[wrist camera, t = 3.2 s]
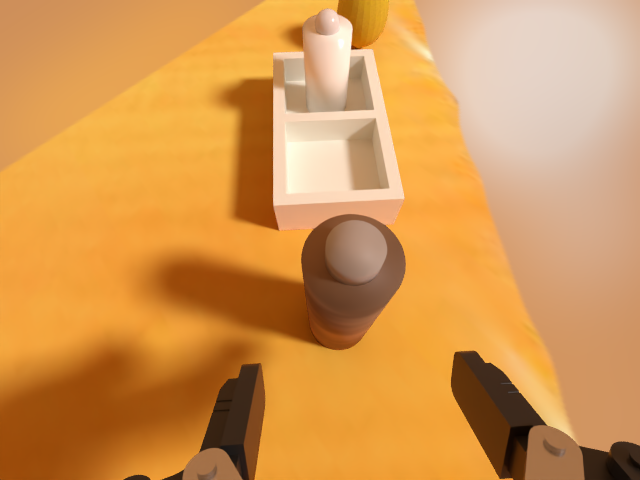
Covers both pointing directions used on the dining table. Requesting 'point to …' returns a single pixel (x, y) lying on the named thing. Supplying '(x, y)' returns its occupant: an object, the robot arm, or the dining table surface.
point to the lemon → (364, 19)
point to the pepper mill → (349, 277)
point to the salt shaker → (326, 61)
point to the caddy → (332, 149)
